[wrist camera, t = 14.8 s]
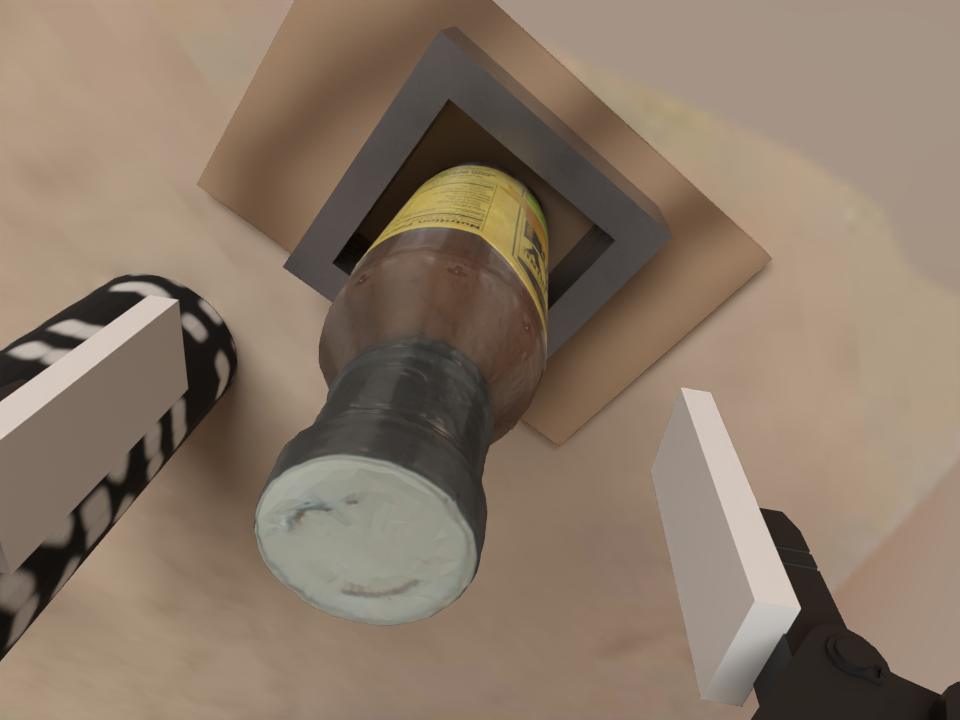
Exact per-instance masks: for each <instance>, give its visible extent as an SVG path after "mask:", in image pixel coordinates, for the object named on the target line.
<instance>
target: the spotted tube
mask: <svg viewBox="0 0 960 720" xmlns="http://www.w3.org/2000/svg"><path fill="white" fill-rule="evenodd" d="M149 295H153V296H159V297H165V298H170V299H176V300H179V308H180V317H181V327H182V336H183V345H184V355H185V364H186V373H187V383H188V389H187V391H186V392H185V393H184V394H183V395H182V396H181V397H180V398H179V399H178V400H177V401H176V402H175V403H174V404H173V405H172V406H171V407H170V408H169V409H168V411H167V412H166V413H165V414H164V415H163V416H162V417H161V418H160V419H159V420H158V421H157V422H156V423H155V424H154V425H153V426H152V427H151V428H150V429H149V431H148V432H147V433H146V434H145V435H144V436H143V437H142V438H141V439H140V440H139V441H138V442H137V443H136V444H135V445H134V446H133V447H132V448H131V449H130V450H129V452H128V453H127V454H126V455H125V456H124V457H123V458H122V459H121V460H120V461H119V462H118V463H117V464H116V465H115V466H114V467H113V468H112V469H111V470H110V472H109V473H108V474H107V475H106V476H105V477H104V478H103V479H102V480H101V481H100V482H99V483H98V484H97V485H96V486H95V487H94V488H93V489H92V490H91V492H90V493H89V494H88V495H87V496H86V497H85V498H84V499H83V500H82V501H81V502H80V503H79V504H78V505H77V506H76V507H75V508H74V509H73V510H72V512H71V513H70V514H69V515H68V516H67V517H66V518H65V519H64V520H63V521H62V522H61V523H60V524H59V525H58V526H57V527H56V528H55V529H54V530H53V532H52V533H51V534H50V535H49V536H48V537H47V538H46V539H45V540H44V541H43V542H42V543H41V544H40V545H39V546H38V547H37V548H36V549H35V550H34V551H33V553H32V554H31V555H30V556H29V557H28V558H27V559H26V560H25V561H24V562H23V563H22V564H21V565H20V566H19V567H18V568H17V569H16V570H15V571H14V573H13V574H12V575H10V574H5V573H0V661H1V660H2V659H3V658H4V656H5V655H6V654H7V653H8V652H9V650H10V649H11V648H12V647H13V646H14V644H15V643H16V642H17V641H18V640H19V638H20V637H21V636H22V635H23V634H24V632H25V631H26V630H27V629H28V628H29V626H30V625H31V624H32V623H33V622H34V620H35V619H36V618H37V617H38V616H39V614H40V613H41V612H42V611H43V610H44V608H45V607H46V606H47V605H48V604H49V603H50V601H51V600H52V599H53V598H54V597H55V595H56V594H57V593H58V592H59V591H60V589H61V588H62V587H63V586H64V585H65V583H66V582H67V581H68V580H69V579H70V577H71V576H72V575H73V574H74V573H75V571H76V570H77V569H78V568H79V567H80V565H81V564H82V563H83V562H84V561H85V559H86V558H87V557H88V556H89V555H90V553H91V552H92V551H93V550H94V549H95V547H96V546H97V545H98V544H99V543H100V541H101V540H102V539H103V538H104V537H105V535H106V534H107V533H108V532H109V531H110V529H111V528H112V527H113V526H114V525H115V524H116V522H117V521H118V520H119V519H120V518H121V516H122V515H123V514H124V513H125V512H126V510H127V509H128V508H129V507H130V506H131V504H132V503H133V502H134V501H135V500H136V498H137V497H138V496H139V495H140V494H141V492H142V491H143V490H144V489H145V488H146V486H147V485H148V484H149V483H150V482H151V480H152V479H153V478H154V477H155V476H156V474H157V473H158V472H159V471H160V470H161V468H162V467H163V466H164V465H165V464H166V462H167V461H168V460H169V459H170V458H171V456H172V455H173V454H174V453H175V452H176V451H177V449H178V448H179V447H180V446H181V445H182V443H183V442H184V441H185V440H186V439H187V437H188V436H189V435H190V434H191V433H192V431H193V430H194V429H195V428H196V427H197V425H198V424H199V423H200V422H201V421H202V419H203V418H204V417H205V416H206V415H207V413H208V412H209V411H210V410H211V409H212V407H213V406H214V405H215V404H216V403H217V401H218V400H219V399H220V398H221V397H222V395H223V394H224V393H225V392H226V390H227V389H228V388H229V386H230V385H231V383H232V381H233V378H234V376H235V372H236V364H237V359H236V350H235V346H234V343H233V340H232V337H231V334H230V333H229V331H228V329H227V327H226V325H225V323H224V322H223V320H222V319H221V318H220V317H219V315H218V314H217V313H216V311H215V310H214V309H213V308H212V307H211V306H210V305H209V304H208V303H207V302H206V301H205V300H204V299H202V298H201V297H200V296H198V295H197V294H196V293H194V292H193V291H191V290H190V289H188V288H186V287H184V286H182V285H180V284H178V283H176V282H174V281H172V280H169V279H166V278H162V277H159V276H154V275H147V274H131V275H125V276H121V277H118V278H114V279H113V280H111V281H109V282H108V283H106V284H104V285H103V286H101V287H99V288H98V289H96V290H95V291H93V292H91V293H90V294H88V295H87V296H85V297H84V298H82V299H80V300H79V301H77V302H76V303H74V304H73V305H71V306H69V307H68V308H66V309H65V310H63V311H62V312H60V313H58V314H57V315H55V316H54V317H52V318H50V319H49V320H47V321H46V322H44V323H43V324H41V325H39V326H38V327H36V328H35V329H33V330H32V331H30V332H28V333H27V334H25V335H24V336H22V337H20V338H19V339H17V340H16V341H14V342H13V343H11V344H9V345H8V346H6V347H5V348H3V349H2V350H0V387H2V386H5V385H7V384H10V383H12V382H15V381H17V380H20V379H23V380H29V381H30V380H31V379H33V378H34V377H36V376H37V375H38V374H40V373H41V372H43V371H44V370H45V369H47V368H48V367H50V366H51V365H52V364H54V363H55V362H57V361H58V360H59V359H61V358H62V357H64V356H65V355H66V354H68V353H69V352H71V351H72V350H73V349H75V348H76V347H78V346H79V345H80V344H82V343H83V342H85V341H86V340H87V339H89V338H90V337H92V336H93V335H94V334H96V333H97V332H99V331H100V330H101V329H103V328H104V327H106V326H107V325H108V324H110V323H111V322H113V321H114V320H115V319H117V318H118V317H119V316H121V315H122V314H124V313H125V312H126V311H128V310H129V309H131V308H132V307H133V306H135V305H136V304H138V303H139V302H140V301H142V300H143V299H145V298H146V297H147V296H149Z"/></svg>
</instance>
